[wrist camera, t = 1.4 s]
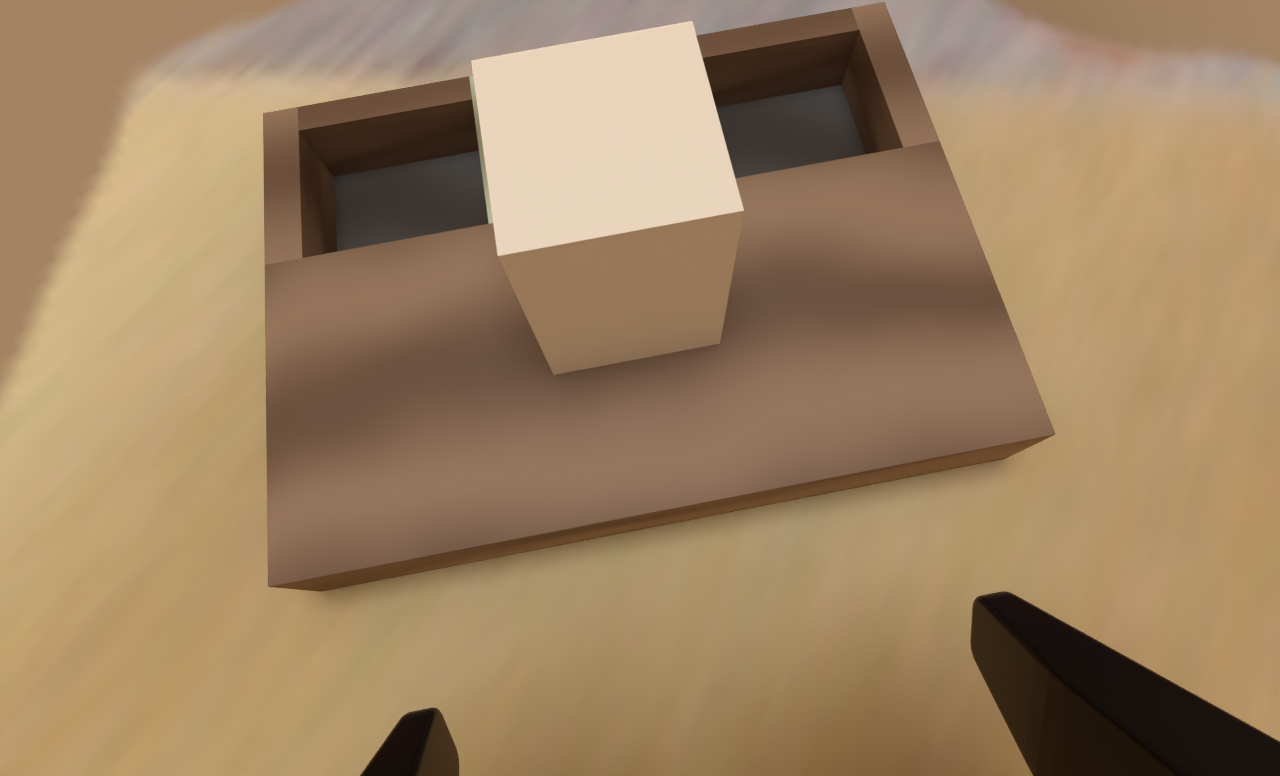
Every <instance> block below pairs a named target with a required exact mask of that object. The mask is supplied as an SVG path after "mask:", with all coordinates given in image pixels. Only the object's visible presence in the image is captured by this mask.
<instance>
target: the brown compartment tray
mask: <svg viewBox="0 0 1280 776" xmlns="http://www.w3.org/2000/svg"><path fill="white" fill-rule="evenodd" d="M696 37H697V40H698V44H699V48H700V51H701V55H702V58H703V62H704V66H705V69H706V73H707V77H708V80H709V84H710V88H711V91H712V95H713V99H714V102H715V106H716V110H717V113H718V117H719V121H720V124H721V128H722V132H723V135H724V139H725V143H726V146H727V150H728V154H729V157H730V161H731V165H732V168H733V172H734V175H735V179H736V183H737V186H738V190H739V194H740V197H741V201H742V205H743V208H744V214H743V219H742V225H741V230H740V236H739V241H738V247H737V252H736V258H735V263H734V269H733V274H732V280H731V285H730V291H729V296H728V302H727V307H726V313H725V318H724V324H723V329H722V335H721V341H720V344H715V345H710V346H704V347H699V348H694V349H688V350H683V351H678V352H673V353H667V354H662V355H657V356H651V357H646V358H641V359H635V360H630V361H625V362H620V363H614V364H609V365H604V366H598V367H593V368H588V369H583V370H577V371H572V372H567V373H561V374H556V375H553V373H552V371H551V369H550V366H549V364H548V362H547V360H546V358H545V356H544V354H543V352H542V349H541V347H540V345H539V343H538V341H537V339H536V337H535V334H534V332H533V330H532V328H531V326H530V324H529V322H528V320H527V317H526V315H525V313H524V311H523V309H522V307H521V305H520V303H519V300H518V298H517V296H516V294H515V292H514V290H513V288H512V286H511V283H510V281H509V279H508V277H507V275H506V273H505V271H504V269H503V266H502V264H501V262H500V260H499V258H498V255H497V248H496V240H495V233H494V225H493V218H492V211H491V203H490V196H489V188H488V181H487V174H486V166H485V159H484V151H483V144H482V137H481V129H480V122H479V114H478V107H477V99H476V92H475V85H474V77H473V76H469V77H463V78H458V79H452V80H447V81H441V82H435V83H430V84H424V85H419V86H413V87H408V88H402V89H396V90H391V91H385V92H380V93H374V94H369V95H363V96H357V97H352V98H346V99H341V100H335V101H329V102H324V103H318V104H313V105H307V106H302V107H296V108H290V109H285V110H279V111H274V112H268V113H263V140H264V237H265V334H266V431H267V528H268V587H277V588H288V589H300V590H311V591H325V590H330V589H336V588H341V587H346V586H351V585H356V584H361V583H366V582H372V581H377V580H382V579H387V578H392V577H397V576H402V575H408V574H413V573H418V572H423V571H428V570H433V569H439V568H444V567H449V566H454V565H459V564H464V563H469V562H475V561H480V560H485V559H490V558H495V557H500V556H505V555H511V554H516V553H521V552H526V551H531V550H536V549H542V548H547V547H552V546H557V545H562V544H567V543H572V542H578V541H583V540H588V539H593V538H598V537H603V536H608V535H614V534H619V533H624V532H629V531H634V530H639V529H645V528H650V527H655V526H660V525H665V524H670V523H675V522H681V521H686V520H691V519H696V518H701V517H706V516H711V515H717V514H722V513H727V512H732V511H737V510H742V509H748V508H753V507H758V506H763V505H768V504H773V503H778V502H784V501H789V500H794V499H799V498H804V497H809V496H814V495H820V494H825V493H830V492H835V491H840V490H845V489H851V488H856V487H861V486H866V485H871V484H876V483H881V482H887V481H892V480H897V479H902V478H907V477H912V476H917V475H923V474H928V473H933V472H938V471H943V470H948V469H954V468H959V467H964V466H969V465H974V464H979V463H984V462H990V461H995V460H1000V459H1005V458H1008V457H1010V456H1012V455H1014V454H1016V453H1018V452H1020V451H1022V450H1024V449H1026V448H1028V447H1030V446H1032V445H1034V444H1036V443H1038V442H1041V441H1043V440H1045V439H1047V438H1049V437H1051V436H1053V435H1055V432H1054V429H1053V427H1052V424H1051V422H1050V419H1049V417H1048V414H1047V412H1046V409H1045V406H1044V404H1043V401H1042V399H1041V396H1040V394H1039V391H1038V389H1037V386H1036V384H1035V381H1034V379H1033V376H1032V374H1031V371H1030V369H1029V366H1028V364H1027V361H1026V358H1025V356H1024V353H1023V351H1022V348H1021V346H1020V343H1019V341H1018V338H1017V336H1016V333H1015V331H1014V328H1013V326H1012V323H1011V321H1010V318H1009V316H1008V313H1007V310H1006V308H1005V305H1004V303H1003V300H1002V298H1001V295H1000V293H999V290H998V288H997V285H996V283H995V280H994V278H993V275H992V273H991V270H990V267H989V265H988V262H987V260H986V257H985V255H984V252H983V250H982V247H981V245H980V242H979V240H978V237H977V235H976V232H975V230H974V227H973V225H972V222H971V219H970V217H969V214H968V212H967V209H966V207H965V204H964V202H963V199H962V197H961V194H960V192H959V189H958V187H957V184H956V182H955V179H954V177H953V174H952V171H951V169H950V166H949V164H948V161H947V159H946V156H945V154H944V151H943V149H942V146H941V144H940V141H939V139H938V136H937V134H936V131H935V128H934V126H933V123H932V121H931V118H930V116H929V113H928V111H927V108H926V106H925V103H924V101H923V98H922V96H921V93H920V91H919V88H918V86H917V83H916V80H915V78H914V75H913V73H912V70H911V68H910V65H909V63H908V60H907V58H906V55H905V53H904V50H903V48H902V45H901V43H900V40H899V38H898V35H897V32H896V30H895V27H894V25H893V22H892V20H891V17H890V15H889V12H888V10H887V7H886V5H885V2H882V3H876V4H871V5H865V6H860V7H854V8H848V9H843V10H837V11H832V12H826V13H821V14H815V15H809V16H804V17H798V18H793V19H787V20H781V21H776V22H770V23H765V24H759V25H754V26H748V27H742V28H737V29H731V30H726V31H720V32H715V33H709V34H703V35H698V36H696Z"/></svg>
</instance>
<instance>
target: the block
mask: <svg viewBox="0 0 1280 776" xmlns="http://www.w3.org/2000/svg"><path fill="white" fill-rule="evenodd" d="M471 62H472V70H473V77H474V85H475V92H476V99H477V107H478V114H479V122H480V129H481V137H482V144H483V151H484V159H485V166H486V174H487V181H488V188H489V196H490V203H491V211H492V218H493V225H494V233H495V240H496V248H497V255H498V258H499V260H500V262H501V264H502V266H503V269H504V271H505V273H506V275H507V277H508V279H509V281H510V283H511V286H512V288H513V290H514V292H515V294H516V296H517V298H518V300H519V303H520V305H521V307H522V309H523V311H524V313H525V315H526V317H527V320H528V322H529V324H530V326H531V328H532V330H533V332H534V334H535V337H536V339H537V341H538V343H539V345H540V347H541V349H542V352H543V354H544V356H545V358H546V360H547V362H548V364H549V366H550V369H551V371H552V373H553V375H556V374H561V373H567V372H572V371H577V370H583V369H588V368H593V367H598V366H604V365H609V364H614V363H620V362H625V361H630V360H635V359H641V358H646V357H651V356H657V355H662V354H667V353H673V352H678V351H683V350H688V349H694V348H699V347H704V346H710V345H715V344H720V341H721V335H722V329H723V324H724V318H725V313H726V307H727V302H728V296H729V291H730V285H731V280H732V274H733V269H734V263H735V258H736V252H737V247H738V241H739V236H740V230H741V225H742V219H743V214H744V208H743V205H742V201H741V197H740V194H739V190H738V186H737V183H736V179H735V175H734V172H733V168H732V165H731V161H730V157H729V154H728V150H727V146H726V143H725V139H724V135H723V132H722V128H721V124H720V121H719V117H718V113H717V110H716V106H715V102H714V99H713V95H712V91H711V88H710V84H709V80H708V77H707V73H706V69H705V66H704V62H703V58H702V55H701V51H700V48H699V44H698V40H697V37H696V33H695V29H694V26H693V22H692V21H690V22H684V23H679V24H673V25H667V26H662V27H656V28H651V29H645V30H639V31H634V32H628V33H623V34H617V35H611V36H606V37H600V38H595V39H589V40H583V41H578V42H572V43H567V44H561V45H555V46H550V47H544V48H539V49H533V50H527V51H522V52H516V53H511V54H505V55H499V56H494V57H488V58H483V59H477V60H471Z"/></svg>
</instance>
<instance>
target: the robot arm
mask: <svg viewBox="0 0 1280 776" xmlns="http://www.w3.org/2000/svg"><path fill="white" fill-rule="evenodd" d="M971 650H972V654H973V657H974V659H975V662H976V664H977V666H978V668H979V670H980V672H981V674H982V676H983V678H984V680H985V682H986V684H987V686H988V688H989V690H990V692H991V694H992V696H993V698H994V700H995V702H996V704H997V706H998V708H999V710H1000V712H1001V714H1002V716H1003V718H1004V720H1005V722H1006V724H1007V726H1008V728H1009V730H1010V732H1011V734H1012V736H1013V738H1014V739H1015V741H1016V743H1017V745H1018V747H1019V749H1020V751H1021V753H1022V755H1023V757H1024V759H1025V761H1026V763H1027V765H1028V767H1029V769H1030V771H1031V773H1032V774H1033V776H1280V741H1278V740H1276V739H1274V738H1272V737H1271V736H1269V735H1267V734H1265V733H1263V732H1261V731H1260V730H1258V729H1256V728H1254V727H1252V726H1251V725H1249V724H1247V723H1245V722H1243V721H1242V720H1240V719H1238V718H1236V717H1234V716H1233V715H1231V714H1229V713H1227V712H1225V711H1224V710H1222V709H1220V708H1218V707H1216V706H1215V705H1213V704H1211V703H1209V702H1207V701H1206V700H1204V699H1202V698H1200V697H1198V696H1197V695H1195V694H1193V693H1191V692H1189V691H1188V690H1186V689H1184V688H1182V687H1180V686H1178V685H1177V684H1175V683H1173V682H1171V681H1169V680H1168V679H1166V678H1164V677H1162V676H1160V675H1159V674H1157V673H1155V672H1153V671H1151V670H1150V669H1148V668H1146V667H1144V666H1142V665H1141V664H1139V663H1137V662H1135V661H1133V660H1132V659H1130V658H1128V657H1126V656H1124V655H1123V654H1121V653H1119V652H1117V651H1115V650H1114V649H1112V648H1110V647H1108V646H1106V645H1105V644H1103V643H1101V642H1099V641H1097V640H1096V639H1094V638H1092V637H1090V636H1088V635H1086V634H1085V633H1083V632H1081V631H1079V630H1077V629H1076V628H1074V627H1072V626H1070V625H1068V624H1067V623H1065V622H1063V621H1061V620H1059V619H1058V618H1056V617H1054V616H1052V615H1050V614H1049V613H1047V612H1045V611H1043V610H1041V609H1040V608H1038V607H1036V606H1034V605H1032V604H1031V603H1029V602H1027V601H1025V600H1023V599H1022V598H1020V597H1018V596H1016V595H1014V594H1012V593H1009V592H997V593H992V594H987V595H982V596H979V597H977V598H976V599H975V601H974V602H973V609H972V625H971ZM360 776H459V758H458V753H457V749H456V746H455V744H454V741H453V739H452V737H451V734H450V732H449V730H448V727H447V725H446V723H445V720H444V718H443V715H442V714H441V712H440V711H439V710H438V709H437V708H428V709H423V710H418V711H413V712H409V713H407V714H405V715H404V716H403V717H402V718H401V719H400V720H399V722H398V723H397V724H396V726H395V727H394V729H393V730H392V731H391V733H390V734H389V736H388V737H387V739H386V740H385V741H384V743H383V744H382V746H381V747H380V748H379V750H378V751H377V753H376V754H375V755H374V757H373V758H372V760H371V761H370V762H369V764H368V765H367V767H366V768H365V770H364V771H363V772H362V774H361V775H360Z"/></svg>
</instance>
